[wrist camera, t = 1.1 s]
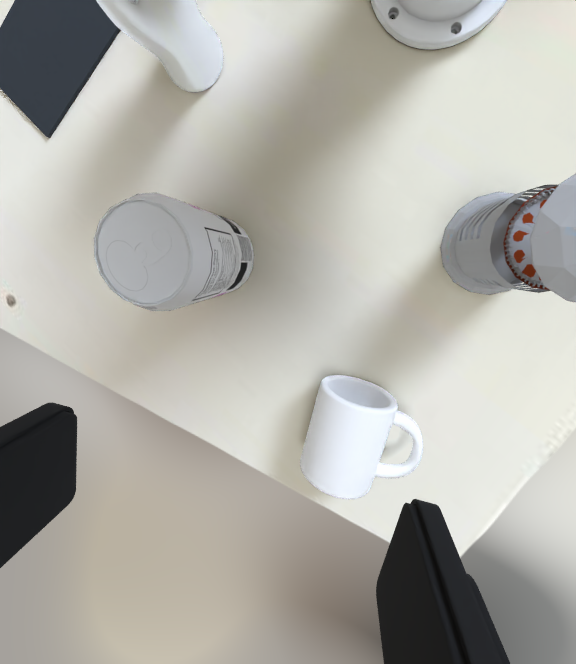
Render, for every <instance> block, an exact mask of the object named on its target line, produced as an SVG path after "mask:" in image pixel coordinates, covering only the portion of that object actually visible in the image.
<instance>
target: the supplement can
mask: <svg viewBox="0 0 576 664" xmlns="http://www.w3.org/2000/svg"><path fill="white" fill-rule="evenodd" d="M94 257H95V260H96V263H97V266H98V270H99V273H100V275H101V276H102V278H103V279H104V281H105V282H106V283H107V285H108V286H109V288H110V289H111V290H112V291H113V292H115V293H116V294H117V295H119V296H120V297H121V298H122V299H124V300H126V301H129V302H131V303H133V304H134V305H137V306H139V307H142V308H145V309H148V310H151V311H171V310H174V309H177V308H181V307H184V306H187V305H190V304H194V303H197V302H200V301H203V300H206V299H210V298H213V297H216V296H219V295H223V294H226V293H228V292H231V291H233V290H236V289H238V288H239V287H240V286H241V285H242V284H243V283H244V282H245V281H246V280H247V279H248V277H249V275H250V273H251V271H252V269H253V262H254V251H253V247H252V243H251V240H250V239H249V237H248V235H247V234H246V232H245V230H244V229H243V228H241V227H240V226H239V225H238V224H236V223H235V222H234V221H232V220H229V219H227V218H224V217H222V216H219V215H216V214H214V213H211V212H208V211H206V210H203V209H201V208H198V207H195V206H193V205H190V204H188V203H185V202H182V201H180V200H177V199H174V198H171V197H168V196H165V195H162V194H159V193H144V194H136V195H134V196H132V197H130V198H128V199H125V200H123V201H122V202H120V203H118V204H116V205H114V206H112V207H110V209H109V210H108V211H107V212H106V213H105V215H104V216H103V217H102V218H101V220H100V221H99V224H98V227H97V230H96V233H95V236H94Z"/></svg>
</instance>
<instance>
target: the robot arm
mask: <svg viewBox="0 0 576 664" xmlns="http://www.w3.org/2000/svg"><path fill="white" fill-rule="evenodd" d="M506 1H507V0H371V4H372V7H373V9H374V12H375V14H376V16H377V18H378V20H379V21H380V23H381V24H382V25H383V27H384V28H385V29H386V31H387V32H388V33H389V34H391V35H392V36H393V37H394V38H395V39H397V40H398V41H400V42H402V43H404V44H406V45H408V46H411V47H415V48H419V49H441V48H446V47H451V46H453V45H456V44H458V43H461V42H463V41H465V40H467V39H468V38H470V37H472V36H473V35H475V34H476V33H478V32H479V31H480V30H481V29H483V28H484V27H485V26H486V25H487V24H488V23H489V22H491V21H492V19H493V18H494V17H495V16H496V15H497V13H498V12H499V11H500V10H501V9H502V7H503V6H504V4H505V3H506ZM390 18H394V19H390ZM453 33H455V34H453ZM76 451H77V417H76V415H75V414H74V411H73V409H72V408H70V407H67V406H63V405H60V404H56V403H47V404H45V405H42V406H41V407H39V408H37V409H35V410H33V411H31V412H29V413H27V414H25V415H23V416H21V417H19V418H17V419H15V420H13V421H12V422H9V423H7V424H5V425H3V426H2V427H0V568H1V567H2V566H3V565H4V564H5V563H6V562H7V561H8V560H9V559H11V558H12V557H13V556H14V555H15V554H16V553H17V552H18V551H19V550H20V549H21V548H22V547H23V546H25V545H26V544H27V543H28V542H29V541H30V540H31V539H32V538H33V537H34V536H35V535H36V534H37V533H38V532H40V531H41V530H42V529H43V528H44V527H45V526H46V525H47V524H48V523H49V522H50V521H51V520H52V519H54V518H55V517H56V516H57V515H58V514H59V513H60V512H61V511H62V510H63V509H64V508H65V507H66V506H67V505H68V504H69V503H70V502H71V501H72V499H73V497H74V495H75V492H76V455H77V453H76ZM376 596H377V606H378V614H379V623H380V632H381V641H382V649H383V658H384V664H510V662H509V660H508V657H507V655H506V653H505V650H504V648H503V645H502V643H501V641H500V638H499V636H498V634H497V631H496V629H495V627H494V624H493V622H492V620H491V617H490V615H489V612H488V611H487V608H486V605H485V603H484V601H483V599H482V596H481V593H480V591H479V589H478V587H477V585H476V583H475V581H474V579H473V578H472V577H471V576H470V575H469V574H466V572H465V569H464V567H463V564H462V562H461V559H460V557H459V554H458V552H457V549H456V547H455V544H454V542H453V540H452V537H451V535H450V532H449V530H448V527H447V525H446V522H445V520H444V517H443V515H442V512H441V510H440V508H439V506H437V505H436V504H432V503H428V502H424V501H421V500H417V499H413V501H412V502H411V504H408V503H405V504H404V506H403V508H402V511H401V514H400V517H399V520H398V522H397V525H396V528H395V531H394V534H393V537H392V540H391V543H390V545H389V548H388V551H387V554H386V557H385V560H384V563H383V566H382V569H381V571H380V574H379V577H378V581H377V587H376Z"/></svg>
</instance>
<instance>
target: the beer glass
mask: <svg viewBox="0 0 576 664" xmlns="http://www.w3.org/2000/svg"><path fill="white" fill-rule="evenodd" d="M90 1H91V2H92V3H93V4H94V5H95V6H96V7H97V8H98V9H99V10H100V11H101V12H102V13H103V14H104V15H105V16H106V17H107V18H108V19H109V20H110V21H111V22H112V23H113V24H114V25H115V26H116V27H118V28H119V29H120V30H121V31H122V32H124V33H125V34H126V35H127V36H129V37H130V38H131V39H133V40H134V41H136V42H137V43H138V44H140V45H141V46H142V47H144V48H145V49H147V50H148V51H150V52H151V53H152V54H154V55H155V56H156V57H157V58H158V59H159V60H160V61H161V63H162V64H163V66H164V68H165V70H166V71H167V73H168V75H169V77H170V78H171V80H172V81H173V82H174V83H175V84H176V85H177V86H178V87H179V88H181V89H183V90H185V91H187V92H192V93H197V92H202V91H204V90H206V89H208V88H209V87H211V86H212V85H213V84H214V83H215V82H216V80H217V79H218V77H219V75H220V73H221V70H222V66H223V59H224V55H223V47H222V43H221V40H220V38H219V36H218V34H217V33H216V31H215V30H214V29H213V27H212V26H211V25H210V24H209V23H208V22H207V21H206V20H205V18H204V17H203V16H202V14H201V12H200V10H199V7H198V4H197V1H196V0H90Z"/></svg>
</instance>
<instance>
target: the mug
mask: <svg viewBox="0 0 576 664" xmlns="http://www.w3.org/2000/svg"><path fill="white" fill-rule="evenodd" d="M397 408H398V404H397V401H396V399H395V398H394V397H393V396H392V395H391V394H390V393H389V392H387V391H386V390H385V389H383V388H381V387H379V386H378V385H375V384H373V383H371V382H368V381H366V380H363V379H360V378H356V377H351V376H345V375H331V376H327V377H325V378H323V379H322V381H321V383H320V387H319V391H318V395H317V398H316V402H315V406H314V410H313V413H312V417H311V421H310V425H309V429H308V432H307V436H306V440H305V444H304V447H303V451H302V455H301V459H300V467H301V470H302V473H303V474H304V476H305V477H306V479H307V480H308V481H309V482H310V483H311V484H312V485H313V486H314V487H316V488H317V489H319V490H320V491H322V492H324V493H326V494H328V495H331V496H333V497H337V498H342V499H356V498H360V497H362V496H364V495H365V494H367V493H368V492H369V490H370V488H371V485H372V482H373V479H374V477H380V478H400V477H403V476H406V475H408V474H410V473H411V472H412V471H414V470H415V469H416V467H417V466H418V465H419V463H420V461H421V458H422V453H423V439H422V434H421V431H420V429H419V427H418V425H417V424H416V422H415V421H414V420H413V419H412V418H411V417H409V416H408V415H406V414H405V413H403V412H401V411H398V410H397ZM393 424H394V425H396V426H398V427H400V428H402V429H404V430H405V431H406V432H407V433H408V434H409V435H410V436H411V437H412V440H413V446H412V451H411V454H410V456H409V458H408V459H407V460H406V461H405V462H404V463H401V464H384V463H380V462H379V461H380V458H381V455H382V453H383V450H384V447H385V444H386V441H387V438H388V435H389V432H390V429H391V426H392V425H393Z"/></svg>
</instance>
